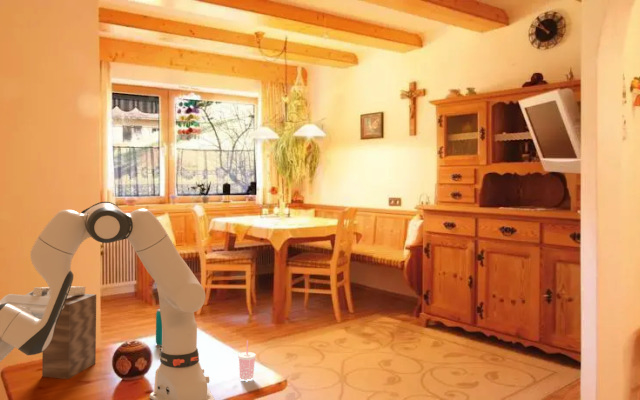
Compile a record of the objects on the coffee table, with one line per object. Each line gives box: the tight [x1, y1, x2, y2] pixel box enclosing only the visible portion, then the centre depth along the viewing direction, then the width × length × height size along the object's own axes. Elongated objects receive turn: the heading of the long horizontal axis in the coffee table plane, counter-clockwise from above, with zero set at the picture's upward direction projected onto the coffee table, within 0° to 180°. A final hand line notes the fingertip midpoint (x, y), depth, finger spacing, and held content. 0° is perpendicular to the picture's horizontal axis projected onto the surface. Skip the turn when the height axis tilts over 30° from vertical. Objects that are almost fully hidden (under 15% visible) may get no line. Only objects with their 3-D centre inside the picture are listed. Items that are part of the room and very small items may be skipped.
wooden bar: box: [33, 285, 86, 296], centre depth 184 cm, size 24×3×3 cm, turn 171°
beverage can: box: [155, 307, 162, 347], centre depth 222 cm, size 6×6×15 cm
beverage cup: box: [238, 340, 257, 380], centre depth 186 cm, size 6×6×14 cm
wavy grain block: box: [41, 293, 97, 380], centre depth 190 cm, size 16×10×26 cm, turn 171°
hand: (45, 289), depth 176 cm, fingers closed on wooden bar, 3 cm apart
